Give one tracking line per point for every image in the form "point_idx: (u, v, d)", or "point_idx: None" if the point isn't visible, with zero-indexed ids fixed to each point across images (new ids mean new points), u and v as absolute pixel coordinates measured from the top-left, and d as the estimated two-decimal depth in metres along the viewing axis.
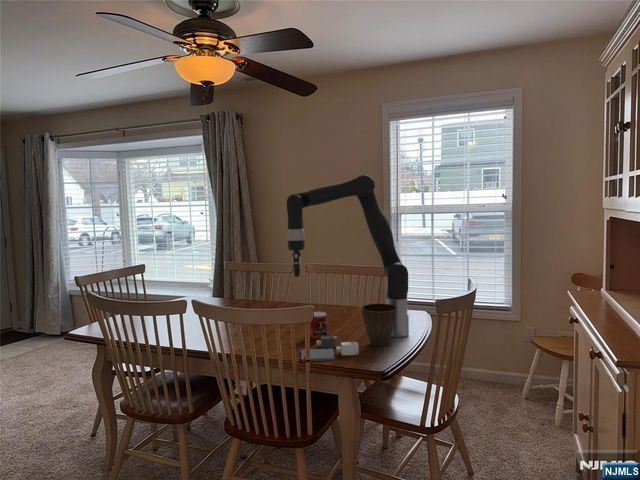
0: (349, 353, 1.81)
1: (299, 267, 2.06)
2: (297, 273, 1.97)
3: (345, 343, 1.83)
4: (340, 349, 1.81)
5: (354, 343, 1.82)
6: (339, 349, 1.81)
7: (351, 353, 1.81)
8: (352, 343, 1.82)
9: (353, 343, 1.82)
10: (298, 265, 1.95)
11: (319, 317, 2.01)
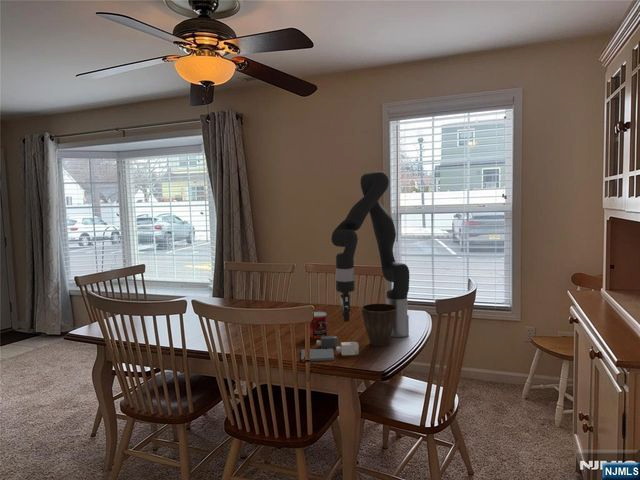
0: (349, 353, 1.81)
1: None
2: (347, 318, 1.76)
3: (345, 343, 1.83)
4: (340, 349, 1.81)
5: (354, 343, 1.82)
6: (339, 349, 1.81)
7: (351, 353, 1.81)
8: (352, 343, 1.82)
9: (353, 343, 1.82)
10: (349, 310, 1.74)
11: (319, 317, 2.01)
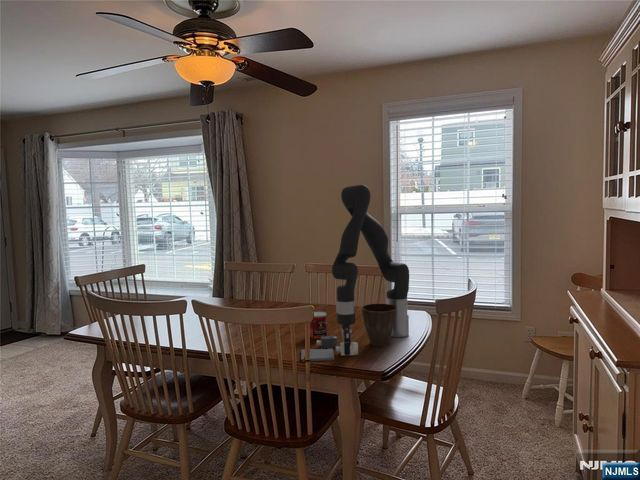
0: None
1: None
2: (348, 351, 1.80)
3: None
4: (339, 349, 1.81)
5: (353, 343, 1.82)
6: (338, 349, 1.81)
7: (350, 353, 1.81)
8: (351, 343, 1.82)
9: (352, 343, 1.82)
10: (349, 344, 1.77)
11: (319, 317, 2.01)
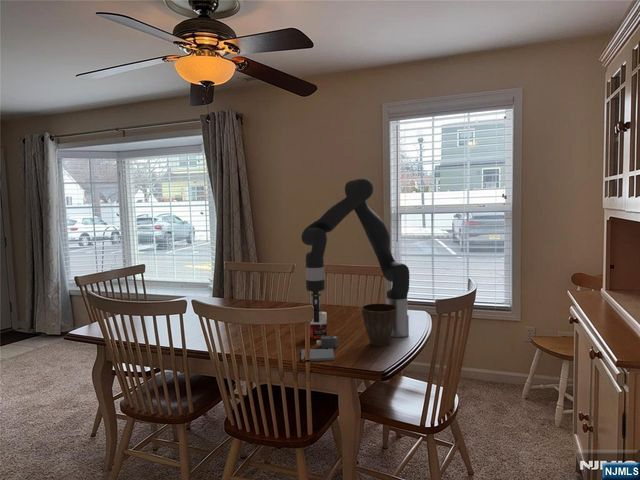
0: (316, 322, 1.78)
1: None
2: (317, 319, 1.77)
3: None
4: None
5: (322, 313, 1.79)
6: None
7: (318, 322, 1.78)
8: (320, 312, 1.79)
9: (321, 312, 1.79)
10: (318, 310, 1.74)
11: None
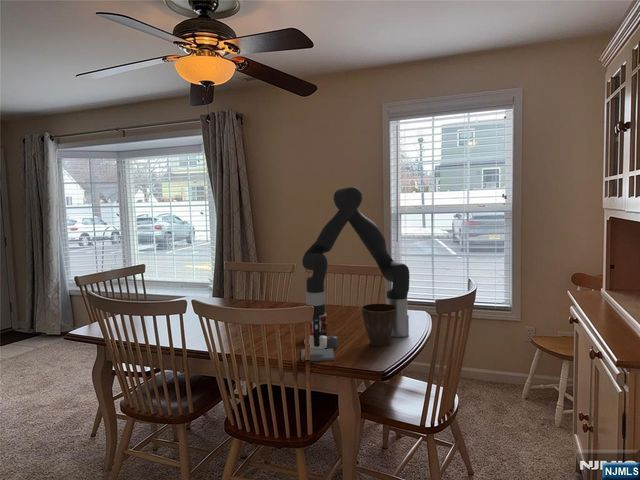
0: None
1: None
2: (317, 343, 1.78)
3: None
4: None
5: (322, 337, 1.80)
6: None
7: (319, 347, 1.79)
8: (320, 337, 1.80)
9: (321, 337, 1.80)
10: (318, 335, 1.75)
11: (319, 317, 2.01)
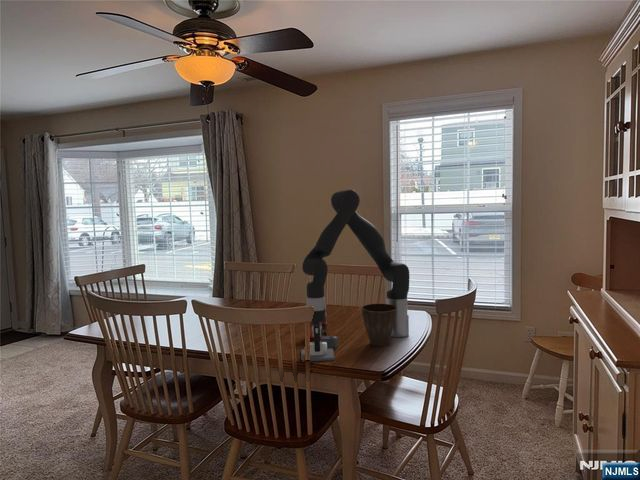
0: (317, 353, 1.79)
1: None
2: (318, 348, 1.76)
3: (313, 343, 1.81)
4: None
5: (322, 343, 1.80)
6: None
7: (319, 353, 1.79)
8: (320, 343, 1.80)
9: (321, 343, 1.80)
10: (319, 340, 1.74)
11: None
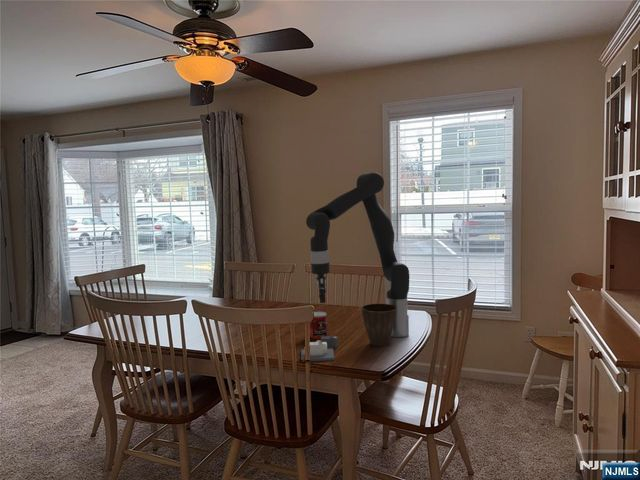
0: (317, 353, 1.79)
1: None
2: (323, 299, 1.80)
3: (313, 343, 1.81)
4: None
5: (322, 343, 1.80)
6: None
7: (319, 353, 1.79)
8: (320, 343, 1.80)
9: (321, 343, 1.80)
10: (324, 291, 1.78)
11: (319, 317, 2.01)
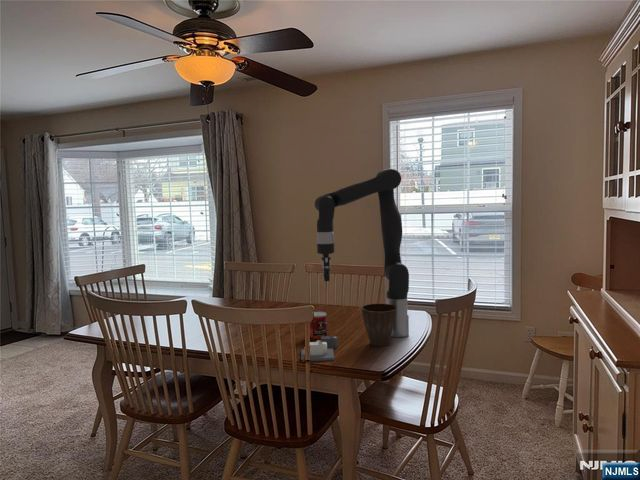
0: (317, 353, 1.79)
1: None
2: (327, 278, 1.90)
3: (313, 343, 1.81)
4: None
5: (322, 343, 1.80)
6: None
7: (319, 353, 1.79)
8: (320, 343, 1.80)
9: (321, 343, 1.80)
10: (328, 269, 1.87)
11: (319, 317, 2.01)
